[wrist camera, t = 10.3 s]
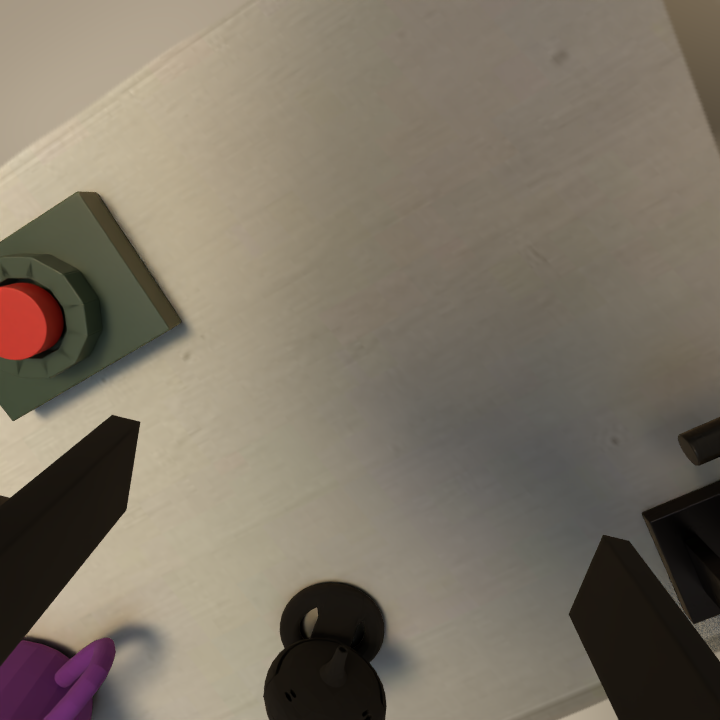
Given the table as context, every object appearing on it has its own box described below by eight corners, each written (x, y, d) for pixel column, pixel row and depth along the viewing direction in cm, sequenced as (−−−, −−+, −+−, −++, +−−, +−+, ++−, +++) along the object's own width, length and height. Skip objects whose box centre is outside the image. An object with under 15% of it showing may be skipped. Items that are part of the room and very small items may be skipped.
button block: (96, 191, 33) (59, 190, 29) (182, 322, 35) (158, 336, 31) (-57, 290, 35) (-111, 301, 31) (33, 409, 37) (-7, 433, 33)
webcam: (268, 648, 42) (236, 783, 32) (295, 566, 40) (270, 683, 30) (367, 676, 42) (365, 816, 32) (399, 596, 40) (407, 721, 30)
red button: (34, 269, 31) (14, 272, 29) (78, 331, 32) (61, 338, 30) (-22, 304, 31) (-44, 310, 30) (23, 364, 32) (4, 373, 31)
